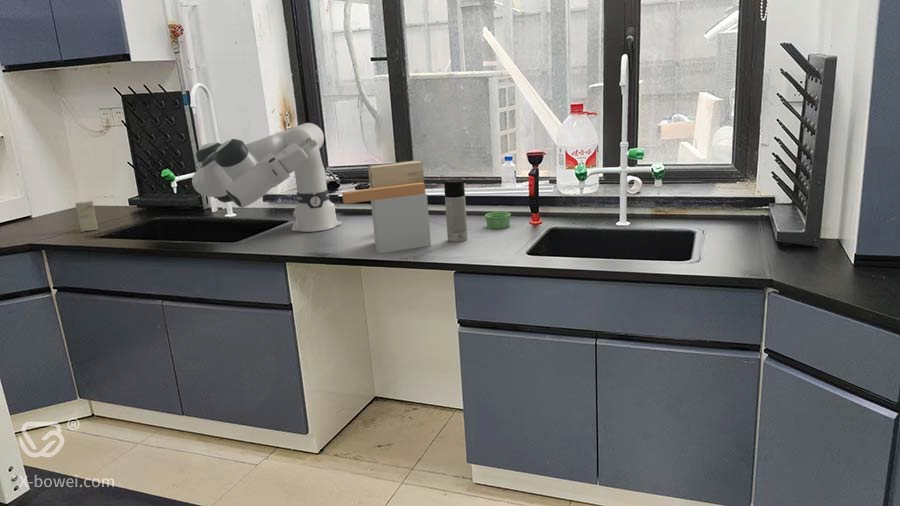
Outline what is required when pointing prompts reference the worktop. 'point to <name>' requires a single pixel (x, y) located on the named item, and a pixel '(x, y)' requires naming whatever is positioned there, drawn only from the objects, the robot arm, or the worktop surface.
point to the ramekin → (498, 220)
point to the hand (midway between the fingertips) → (313, 140)
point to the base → (401, 223)
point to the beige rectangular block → (396, 174)
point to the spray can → (455, 210)
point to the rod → (383, 192)
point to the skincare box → (86, 216)
